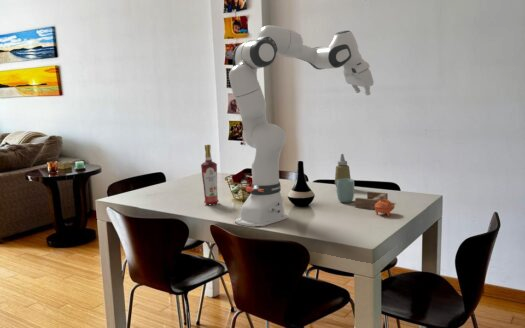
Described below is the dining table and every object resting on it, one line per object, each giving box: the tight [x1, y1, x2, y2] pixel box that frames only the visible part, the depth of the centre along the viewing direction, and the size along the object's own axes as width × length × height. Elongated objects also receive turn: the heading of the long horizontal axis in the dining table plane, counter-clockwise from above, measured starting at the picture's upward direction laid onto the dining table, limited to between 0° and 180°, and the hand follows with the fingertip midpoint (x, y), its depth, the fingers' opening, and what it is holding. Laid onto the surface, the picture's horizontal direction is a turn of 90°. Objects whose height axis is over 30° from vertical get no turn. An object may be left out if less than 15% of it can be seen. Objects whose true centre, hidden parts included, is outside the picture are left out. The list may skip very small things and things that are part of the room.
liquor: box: [200, 144, 220, 205], centre depth 229 cm, size 7×7×28 cm
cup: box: [336, 178, 355, 204], centre depth 223 cm, size 8×8×10 cm
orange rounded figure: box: [374, 199, 395, 217], centre depth 200 cm, size 8×8×7 cm
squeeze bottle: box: [334, 153, 352, 189], centre depth 247 cm, size 8×8×18 cm
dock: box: [354, 191, 389, 210], centre depth 216 cm, size 14×9×4 cm, turn 145°
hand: (363, 93), depth 225 cm, fingers open, 8 cm apart
